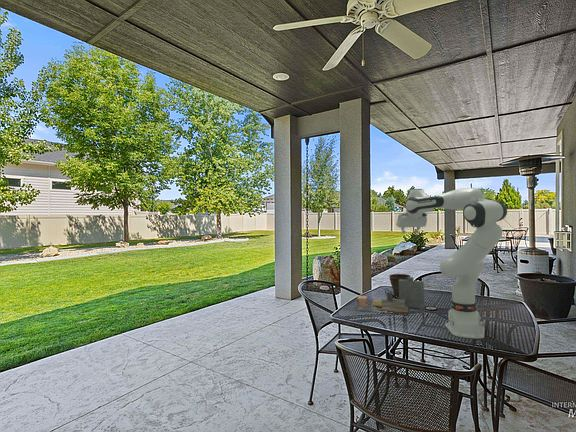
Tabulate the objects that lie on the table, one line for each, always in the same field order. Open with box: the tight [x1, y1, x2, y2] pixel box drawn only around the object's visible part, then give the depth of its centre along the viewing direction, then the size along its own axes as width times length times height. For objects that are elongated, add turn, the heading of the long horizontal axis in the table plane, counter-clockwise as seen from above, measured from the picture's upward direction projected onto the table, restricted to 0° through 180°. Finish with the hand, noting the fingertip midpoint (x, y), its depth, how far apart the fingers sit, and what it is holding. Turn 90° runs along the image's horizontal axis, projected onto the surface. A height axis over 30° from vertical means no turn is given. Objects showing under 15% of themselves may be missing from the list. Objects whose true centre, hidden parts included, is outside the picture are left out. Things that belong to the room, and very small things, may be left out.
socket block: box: [357, 295, 368, 307], centre depth 211 cm, size 6×6×6 cm
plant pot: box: [388, 273, 411, 298], centre depth 233 cm, size 15×15×16 cm
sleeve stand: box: [369, 298, 409, 316], centre depth 206 cm, size 14×32×7 cm, turn 68°
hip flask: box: [398, 276, 426, 310], centre depth 209 cm, size 16×4×20 cm, turn 57°
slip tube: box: [371, 291, 393, 307], centre depth 205 cm, size 3×16×9 cm, turn 68°
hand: (409, 233), depth 206 cm, fingers open, 8 cm apart
